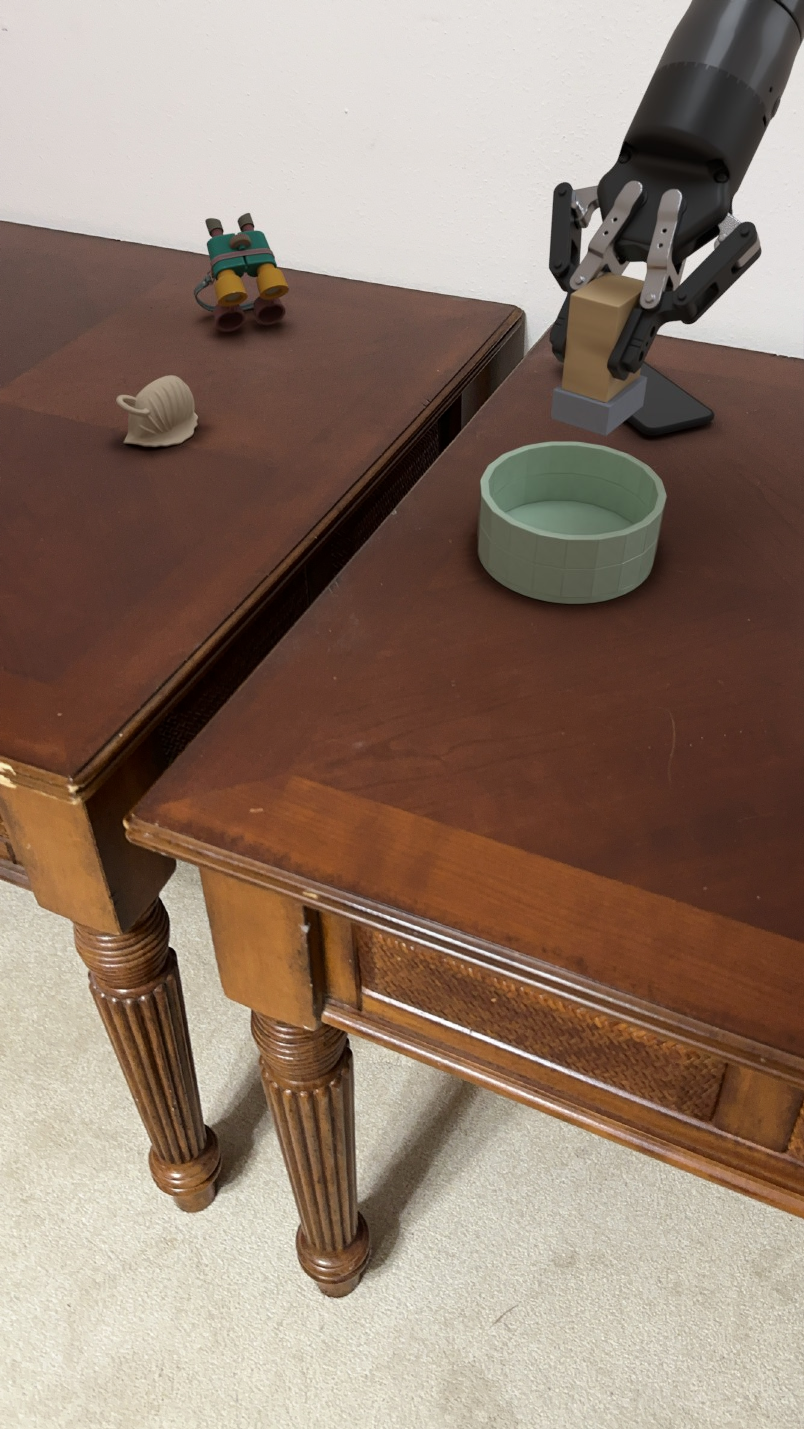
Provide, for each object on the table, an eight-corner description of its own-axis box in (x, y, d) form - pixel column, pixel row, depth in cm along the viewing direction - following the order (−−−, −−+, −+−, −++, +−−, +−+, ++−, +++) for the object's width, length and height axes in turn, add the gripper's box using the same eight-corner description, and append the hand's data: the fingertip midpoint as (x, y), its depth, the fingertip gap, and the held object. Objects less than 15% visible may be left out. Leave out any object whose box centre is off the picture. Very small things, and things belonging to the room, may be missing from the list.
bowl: (666, 519, 86) (678, 457, 82) (638, 619, 77) (649, 554, 73) (502, 491, 89) (506, 429, 85) (456, 584, 80) (458, 519, 76)
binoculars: (205, 351, 113) (208, 289, 103) (180, 275, 114) (181, 207, 105) (292, 336, 115) (303, 274, 106) (266, 262, 117) (275, 194, 107)
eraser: (589, 389, 73) (603, 267, 68) (643, 406, 71) (662, 282, 66) (550, 418, 70) (561, 293, 65) (605, 436, 68) (622, 310, 63)
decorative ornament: (212, 427, 97) (205, 369, 93) (139, 464, 92) (128, 405, 89) (181, 412, 99) (173, 356, 95) (108, 449, 94) (96, 390, 90)
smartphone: (628, 347, 106) (720, 414, 96) (627, 356, 107) (718, 423, 97) (561, 361, 104) (648, 431, 94) (560, 371, 105) (646, 441, 94)
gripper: (590, 41, 66) (468, 310, 67) (819, 74, 59) (681, 371, 60) (621, 119, 72) (510, 362, 73) (830, 156, 66) (705, 422, 67)
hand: (588, 364), depth 67 cm, fingers closed on eraser, 3 cm apart
